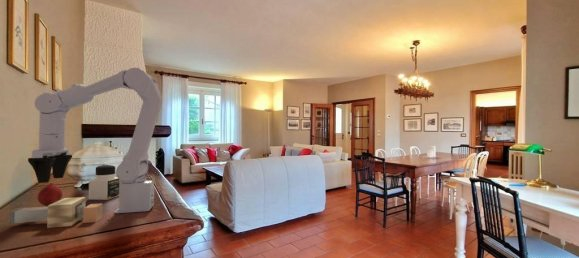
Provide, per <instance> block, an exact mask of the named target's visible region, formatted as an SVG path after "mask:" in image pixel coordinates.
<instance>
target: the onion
mask: <svg viewBox="0 0 579 258" xmlns="http://www.w3.org/2000/svg"><path fill="white" fill-rule="evenodd" d="M62 197H63V191H62V190H61V188H60V187H58V186H57V185H55V183H54V181H53V182H48V184H47V185H45V186H44V187H43V188H42V189H41V190H39V192H38V194H37V201H38V202H39V204H41V205H42V206H43V207H46V206H48V205H51V204H53V203H55V202H57V201H59V200H62V199H63V198H62Z"/></svg>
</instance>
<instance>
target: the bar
mask: <svg viewBox="0 0 579 258" xmlns="http://www.w3.org/2000/svg"><path fill="white" fill-rule="evenodd" d="M85 207H86V204H79V205H77V206H75V218H81V217H83V216H84V208H85ZM47 218H48V206H34V207H32V206H31V207H18V208H14V209H12V210H10V211H9V225H14V224H19V223H21V224H22V223H31V222H32V223H33V222H45V221H46V222H47Z"/></svg>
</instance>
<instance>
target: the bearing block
mask: <svg viewBox="0 0 579 258" xmlns="http://www.w3.org/2000/svg"><path fill="white" fill-rule="evenodd" d="M86 202H87V201H86V196H81V197H78V196H77V197H64V198H61V199H60V200H59V201H57V202H55V203H53V204H51V205H48V218H47V221H46V222H47V223H46V225H47V226H46V227H47V229H50V228H62V227H72V226H73V225H75V224H76V223H78V222H80V221H81V220H83V218H84V216H83V217H81V218H75V206H77V205H79V204H86Z"/></svg>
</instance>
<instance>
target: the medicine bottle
mask: <svg viewBox="0 0 579 258" xmlns="http://www.w3.org/2000/svg"><path fill="white" fill-rule="evenodd" d="M119 181H120V180H119V179H118V177H117V176H116V166H115V165H113V164H102V165H98V166H96V167H95V178H93V179H89V180H88V200H91V201H92V200H94V201H96V200H97V201H105V200H106V201H108V200H112V199H115V198H117V197H119Z"/></svg>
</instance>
